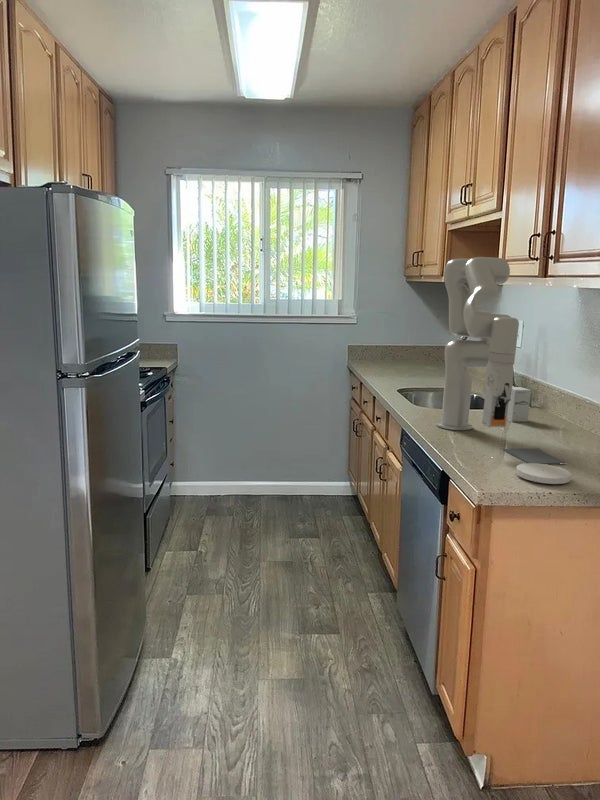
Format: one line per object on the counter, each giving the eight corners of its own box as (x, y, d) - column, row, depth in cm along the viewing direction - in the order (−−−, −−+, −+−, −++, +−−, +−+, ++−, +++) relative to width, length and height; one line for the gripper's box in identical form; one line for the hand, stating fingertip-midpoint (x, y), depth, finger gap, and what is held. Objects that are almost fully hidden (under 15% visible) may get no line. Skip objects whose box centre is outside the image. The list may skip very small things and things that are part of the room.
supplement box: (511, 422, 245) (515, 389, 243) (500, 418, 252) (503, 386, 250) (528, 421, 247) (531, 389, 245) (516, 417, 254) (520, 386, 252)
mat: (503, 450, 203) (503, 448, 203) (537, 449, 205) (538, 448, 205) (529, 464, 188) (529, 463, 187) (566, 464, 190) (566, 462, 190)
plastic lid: (504, 475, 177) (505, 466, 177) (538, 469, 184) (539, 460, 184) (546, 490, 166) (547, 481, 165) (580, 483, 173) (582, 474, 172)
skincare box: (488, 427, 194) (493, 389, 191) (481, 424, 198) (485, 386, 195) (506, 427, 196) (511, 389, 193) (498, 423, 200) (503, 386, 197)
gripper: (477, 353, 200) (471, 410, 204) (503, 362, 183) (496, 424, 187) (500, 354, 201) (493, 410, 205) (527, 363, 185) (519, 424, 189)
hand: (494, 416), depth 196 cm, fingers closed on skincare box, 4 cm apart
